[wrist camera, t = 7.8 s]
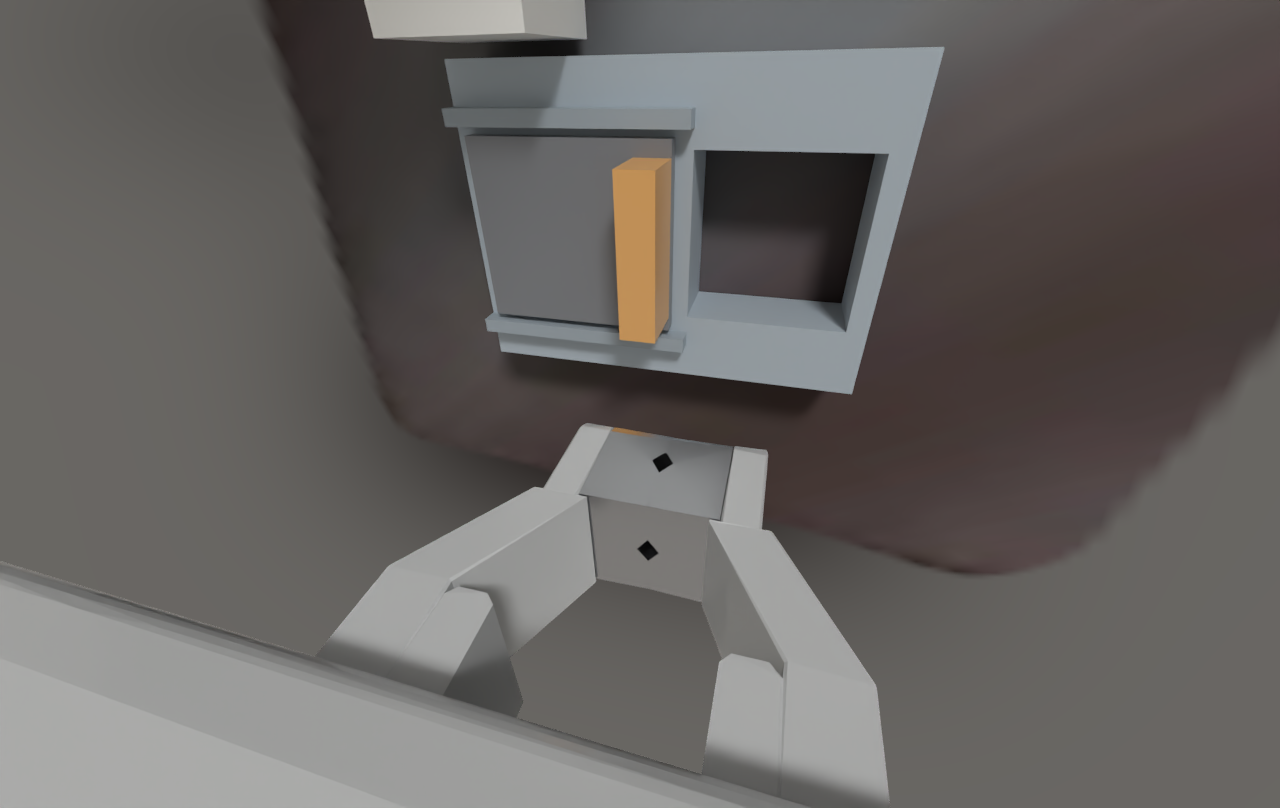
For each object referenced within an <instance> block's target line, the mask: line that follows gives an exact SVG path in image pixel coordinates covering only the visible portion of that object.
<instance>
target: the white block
mask: <svg viewBox="0 0 1280 808" xmlns="http://www.w3.org/2000/svg"><path fill="white" fill-rule="evenodd" d="M364 2H365V6H366V10H367V13H368V17H369V21H370V25H371V29H372V33H373V37H374V38H377V39H395V40H414V41H432V42H451V43H485V42H517V41H548V40H579V39H587V31H586V15H585V0H364Z"/></svg>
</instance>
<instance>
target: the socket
mask: <svg viewBox="0 0 1280 808" xmlns="http://www.w3.org/2000/svg"><path fill="white" fill-rule="evenodd" d="M944 48H945V47H920V48H878V49H837V50H795V51H754V52H712V53H671V54H629V55H588V56H546V57H505V58H463V59H444V60H445V65H446V71H447V76H448V81H449V86H450V91H451V96H452V101H453V106H454V107H449V108H442V114H443V118H444V123H445V127H458V132H459V137H460V142H461V147H462V152H463V158H464V163H465V168H466V173H467V178H468V183H469V188H470V193H471V199H472V204H473V209H474V214H475V219H476V224H477V229H478V234H479V239H480V245H481V250H482V255H483V260H484V265H485V270H486V275H487V280H488V286H489V291H490V296H491V301H492V306H493V311H494V312H493V313H492V314H491V315H490V316H488V317H487V318H486V319H485V321H486V326H487V330H488V331H493V332H498V337H499V342H500V347H501V351H503V352H511V353H519V354H527V355H535V356H544V357H552V358H560V359H568V360H576V361H584V362H593V363H601V364H609V365H617V366H625V367H633V368H642V369H650V370H658V371H666V372H674V373H682V374H691V375H699V376H707V377H715V378H723V379H731V380H740V381H748V382H756V383H764V384H772V385H780V386H789V387H797V388H805V389H813V390H821V391H829V392H838V393H846V394H852V391H853V388H854V384H855V380H856V376H857V373H858V369H859V365H860V361H861V358H862V354H863V350H864V347H865V343H866V339H867V335H868V332H869V328H870V324H871V320H872V317H873V313H874V309H875V305H876V302H877V298H878V294H879V290H880V287H881V283H882V279H883V276H884V272H885V268H886V264H887V261H888V257H889V253H890V249H891V246H892V242H893V238H894V234H895V231H896V227H897V223H898V220H899V216H900V212H901V208H902V205H903V201H904V197H905V193H906V190H907V186H908V182H909V178H910V175H911V171H912V167H913V164H914V160H915V156H916V152H917V149H918V145H919V141H920V137H921V134H922V130H923V126H924V122H925V119H926V115H927V111H928V107H929V104H930V100H931V96H932V93H933V89H934V85H935V81H936V78H937V74H938V70H939V66H940V63H941V59H942V55H943V51H944ZM471 134H503V135H573V136H643V137H675V182H674V229H673V275H672V321H671V327H670V329H669V331H666V330H662V331H661V333H660V335H659V337H658V339H657V341H656V343H655V344H653V343H644V342H635V341H626V340H620V337H619V326H618V325H608V324H598V323H589V322H579V321H569V320H560V319H550V318H540V317H531V316H521V315H511V314H502V313H498V311H497V305H496V300H495V295H494V290H493V284H492V279H491V274H490V269H489V263H488V258H487V253H486V248H485V242H484V237H483V232H482V227H481V221H480V216H479V211H478V206H477V200H476V195H475V190H474V185H473V179H472V174H471V169H470V164H469V158H468V153H467V148H466V143H465V137H464V136H466V135H471ZM706 150H727V151H777V152H827V153H875V157H874V162H873V166H872V171H871V175H870V180H869V184H868V188H867V193H866V197H865V202H864V206H863V211H862V215H861V219H860V224H859V228H858V233H857V237H856V241H855V246H854V250H853V255H852V259H851V264H850V268H849V272H848V277H847V281H846V286H845V290H844V295H843V299H842V303H831V302H819V301H807V300H795V299H784V298H772V297H760V296H748V295H736V294H724V293H712V292H701V291H699V279H700V261H701V242H702V223H703V204H704V186H705V167H706Z"/></svg>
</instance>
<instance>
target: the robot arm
mask: <svg viewBox="0 0 1280 808" xmlns="http://www.w3.org/2000/svg"><path fill="white" fill-rule="evenodd" d="M767 462H768V453H767V451H766V450H761V449H753V448H745V447H738V446H735V448H734V447H731V446H725V445H718V444H711V443H704V442H698V441H691V440H684V439H677V438H672V437H666V436H661V435H655V434H649V433H644V432H638V431H632V430H627V429H621V428H612V427H607V426H601V425H595V424H590V423H586V424H584V425H583V426H581V427H580V428H579V430H578V431H577V433H576V435H575V436H574V438H573V440H572V441H571V443H570V445H569V446H568V448H567V450H566V451H565V453H564V455H563V456H562V458H561V460H560V461H559V463H558V465H557V466H556V468H555V470H554V471H553V473H552V475H551V476H550V478H549V479H548V481H547V483H546V484H545V486H544V488H538V487H533V488H531V489H530V490H528V491H526V492H524V493H522V494H520V495H518V496H517V497H515V498H513V499H511V500H509V501H507V502H506V503H504V504H502V505H500V506H498V507H496V508H494V509H493V510H491V511H489V512H487V513H485V514H483V515H481V516H480V517H478V518H476V519H474V520H472V521H470V522H469V523H467V524H465V525H463V526H461V527H459V528H457V529H456V530H454V531H452V532H450V533H448V534H446V535H445V536H443V537H441V538H439V539H437V540H435V541H433V542H432V543H430V544H428V545H426V546H424V547H422V548H420V549H419V550H417V551H415V552H413V553H411V554H409V555H408V556H406V557H404V558H402V559H400V560H398V561H396V562H395V563H393V564H391V565H389V566H388V567H387V568H386V570H385V571H384V572H383V573H382V574H381V576H380V577H379V578H378V579H377V581H376V582H375V583H374V584H373V585H372V587H371V588H370V589H369V590H368V592H367V593H366V594H365V595H364V596H363V598H362V599H361V600H360V601H359V603H358V604H357V605H356V606H355V608H354V609H353V610H352V611H351V613H350V614H349V615H348V616H347V617H346V619H345V620H344V621H343V622H342V624H341V625H340V626H339V627H338V628H337V630H336V631H335V632H334V633H333V635H332V636H331V637H330V638H329V639H328V641H327V642H326V643H325V645H324V646H323V647H322V648H321V649H320V650H319V652H318V653H317V654H316V655H315V656H311V655H308V654H305V653H301V652H298V651H295V650H291V649H288V648H285V647H281V646H278V645H275V644H272V643H268V642H265V641H261V640H258V639H255V638H252V637H249V636H245V635H242V634H238V633H235V632H232V631H229V630H225V629H222V628H219V627H216V626H212V625H209V624H206V623H202V622H199V621H196V620H192V619H189V618H186V617H183V616H179V615H176V614H173V613H169V612H166V611H163V610H159V609H156V608H153V607H150V606H146V605H143V604H140V603H136V602H133V601H130V600H126V599H123V598H120V597H117V596H113V595H110V594H107V593H104V592H100V591H97V590H94V589H90V588H87V587H84V586H80V585H77V584H74V583H70V582H67V581H64V580H61V579H57V578H54V577H50V576H47V575H44V574H40V573H37V572H34V571H31V570H27V569H24V568H21V567H18V566H15V565H11V564H8V563H5V562H1V561H0V808H890V801H889V792H888V784H887V775H886V765H885V757H884V748H883V739H882V731H881V722H880V713H879V704H878V696H877V686H876V685H875V683H874V682H873V680H872V679H871V677H870V676H869V674H868V673H867V671H866V670H865V669H864V667H863V666H862V664H861V663H860V661H859V660H858V658H857V657H856V655H855V654H854V652H853V651H852V649H851V648H850V646H849V645H848V643H847V642H846V640H845V639H844V637H843V636H842V634H841V633H840V631H839V630H838V628H837V627H836V626H835V624H834V623H833V621H832V620H831V618H830V617H829V615H828V614H827V612H826V611H825V609H824V608H823V606H822V605H821V603H820V602H819V600H818V599H817V597H816V596H815V594H814V593H813V591H812V590H811V588H810V587H809V585H808V584H807V583H806V581H805V580H804V578H803V577H802V575H801V574H800V572H799V571H798V569H797V568H796V566H795V565H794V563H793V562H792V560H791V559H790V557H789V556H788V554H787V553H786V552H785V550H784V548H783V547H782V545H781V544H780V543H779V541H778V540H777V538H776V537H775V535H774V534H773V532H772V531H767V530H762V519H763V508H764V496H765V485H766V474H767ZM596 579H601V580H606V581H611V582H616V583H622V584H627V585H631V586H636V587H641V588H647V589H651V590H655V591H659V592H663V593H667V594H671V595H675V596H678V597H683V598H686V599H690V600H695V601H698V602H702V607H703V610H704V613H705V616H706V618H707V621H708V623H709V626H710V628H711V631H712V634H713V637H714V639H715V642H716V645H717V647H718V650H719V652H720V655H721V658H722V660H721V661H720V662H719V667H718V674H717V680H716V686H715V692H714V699H713V705H712V712H711V718H710V724H709V731H708V737H707V743H706V750H705V756H704V763H703V769H702V774H700V773H696V772H693V771H690V770H687V769H683V768H680V767H676V766H673V765H670V764H667V763H663V762H660V761H657V760H654V759H650V758H647V757H644V756H640V755H637V754H634V753H630V752H627V751H624V750H620V749H617V748H614V747H611V746H607V745H604V744H600V743H597V742H594V741H591V740H588V739H584V738H581V737H578V736H575V735H571V734H568V733H564V732H562V731H558V730H555V729H551V728H548V727H545V726H542V725H538V724H535V723H531V722H528V721H525V720H522V719H519V718H517V715H518V713H519V711H520V708H521V706H522V704H523V699H522V696H521V692H520V689H519V686H518V683H517V680H516V677H515V673H514V670H513V667H512V664H511V661H510V657H511V656H512V655H514V654H515V653H516V652H517V651H518V650H519V649H520V648H521V647H522V646H523V645H525V644H526V643H527V642H528V641H529V640H531V639H532V638H533V637H534V636H535V635H536V634H537V633H538V632H540V631H541V630H542V629H543V628H544V627H545V626H546V625H548V624H549V623H550V622H551V621H552V620H553V619H554V618H556V617H557V616H558V615H559V614H560V613H561V612H562V611H563V610H565V609H566V608H567V607H568V606H569V605H570V604H572V603H573V602H574V601H575V600H576V599H577V598H578V597H579V596H581V595H582V594H583V593H584V592H585V591H586V590H587V589H589V588H590V587H591V586H592V585H593V584H594V583H595V582H596Z"/></svg>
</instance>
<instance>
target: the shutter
mask: <svg viewBox="0 0 1280 808" xmlns="http://www.w3.org/2000/svg"><path fill="white" fill-rule="evenodd" d="M464 137H465V143H466V148H467V153H468V158H469V164H470V169H471V174H472V179H473V185H474V190H475V195H476V200H477V206H478V211H479V216H480V221H481V227H482V232H483V237H484V242H485V248H486V253H487V258H488V263H489V269H490V274H491V279H492V284H493V290H494V295H495V300H496V305H497V311H498V313H502V314H511V315H521V316H531V317H540V318H550V319H560V320H569V321H579V322H589V323H598V324H608V325H618V326H619V337H620V340H626V341H635V342H644V343H653V344H655V343H656V341H657V339H658V337H659V335H660V333H661V331H662V330H666V331H669V329H670V327H671V321H672V275H673V229H674V182H675V137H643V136H573V135H503V134H471V135H466V136H464Z"/></svg>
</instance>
